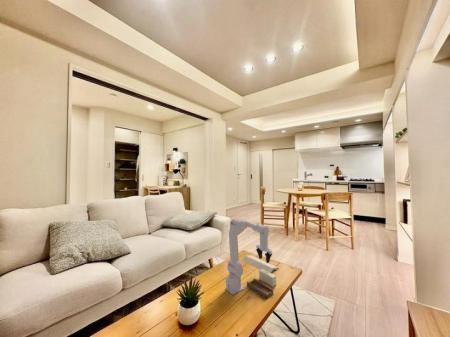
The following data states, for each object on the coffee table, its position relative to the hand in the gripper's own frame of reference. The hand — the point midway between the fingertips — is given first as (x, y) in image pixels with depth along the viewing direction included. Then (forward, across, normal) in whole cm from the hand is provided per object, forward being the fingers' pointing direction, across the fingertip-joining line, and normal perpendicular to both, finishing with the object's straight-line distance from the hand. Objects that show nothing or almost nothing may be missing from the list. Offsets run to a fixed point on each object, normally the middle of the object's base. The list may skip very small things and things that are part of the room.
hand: (264, 260), depth 139 cm
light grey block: (+10, -8, +5) cm, 14 cm away
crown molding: (+11, +13, -7) cm, 19 cm away
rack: (+10, -12, +15) cm, 22 cm away
